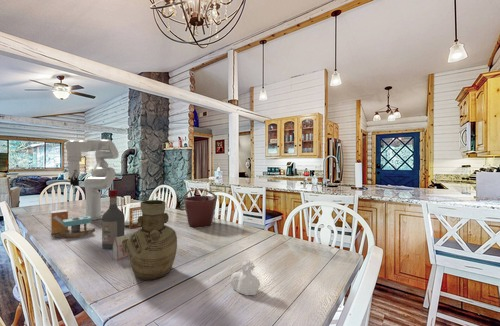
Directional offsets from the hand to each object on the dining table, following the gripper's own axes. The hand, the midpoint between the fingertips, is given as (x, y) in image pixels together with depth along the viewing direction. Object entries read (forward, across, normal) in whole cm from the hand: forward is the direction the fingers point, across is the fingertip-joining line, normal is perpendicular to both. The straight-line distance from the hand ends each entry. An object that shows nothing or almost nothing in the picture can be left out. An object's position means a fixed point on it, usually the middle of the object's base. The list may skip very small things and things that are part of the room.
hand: (74, 185), depth 154 cm
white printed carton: (+29, +69, +9) cm, 75 cm away
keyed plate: (+22, +14, -1) cm, 26 cm away
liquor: (+28, +51, +10) cm, 59 cm away
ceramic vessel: (+28, +94, +13) cm, 99 cm away
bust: (+29, +129, +33) cm, 137 cm away
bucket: (+29, +47, +66) cm, 86 cm away
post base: (+28, +14, -1) cm, 32 cm away
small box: (+28, +2, -8) cm, 30 cm away
